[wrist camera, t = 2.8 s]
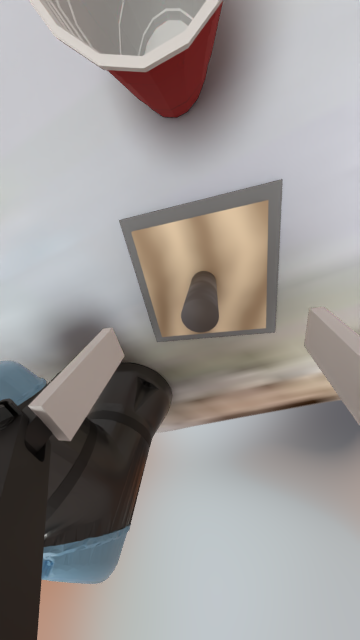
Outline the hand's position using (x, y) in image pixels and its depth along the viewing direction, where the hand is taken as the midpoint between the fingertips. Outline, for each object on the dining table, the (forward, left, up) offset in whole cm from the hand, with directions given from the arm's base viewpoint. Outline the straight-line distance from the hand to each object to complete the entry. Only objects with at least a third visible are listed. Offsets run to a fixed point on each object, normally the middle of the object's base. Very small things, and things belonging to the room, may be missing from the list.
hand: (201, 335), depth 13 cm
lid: (0, 0, -13) cm, 13 cm away
